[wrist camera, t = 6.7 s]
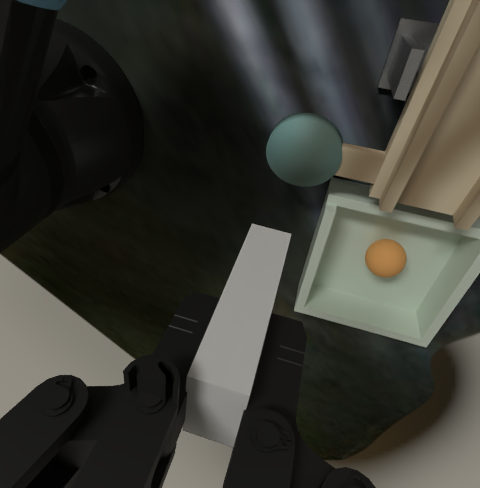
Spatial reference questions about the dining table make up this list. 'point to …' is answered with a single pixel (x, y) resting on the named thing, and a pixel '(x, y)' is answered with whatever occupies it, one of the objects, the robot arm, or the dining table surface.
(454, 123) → the lever
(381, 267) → the ball
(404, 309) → the tray
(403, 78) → the stand
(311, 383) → the dining table surface
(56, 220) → the dining table surface
